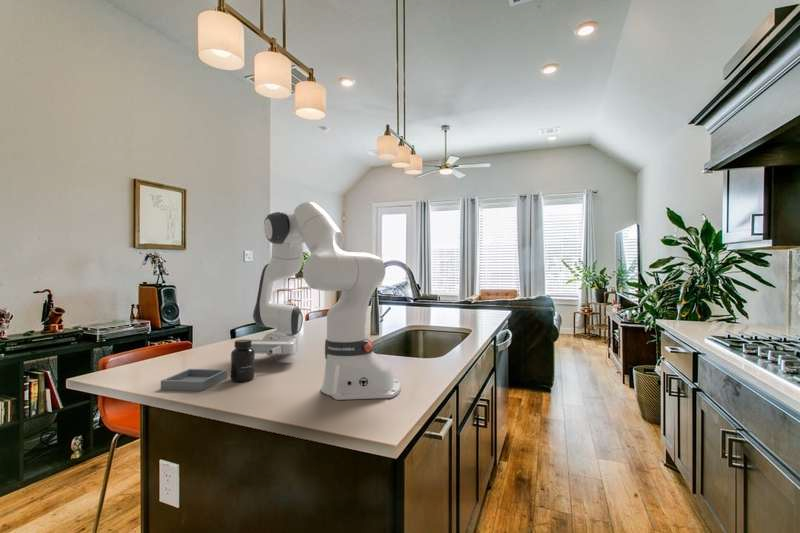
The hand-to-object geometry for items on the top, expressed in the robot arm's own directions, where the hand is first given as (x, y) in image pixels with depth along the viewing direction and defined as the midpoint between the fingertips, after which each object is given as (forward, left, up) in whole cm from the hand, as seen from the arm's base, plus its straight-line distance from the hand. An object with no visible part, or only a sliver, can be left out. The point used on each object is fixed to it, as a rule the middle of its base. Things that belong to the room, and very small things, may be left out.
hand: (257, 351), depth 127 cm
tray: (+12, +15, -6) cm, 20 cm away
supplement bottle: (0, +10, -7) cm, 12 cm away
